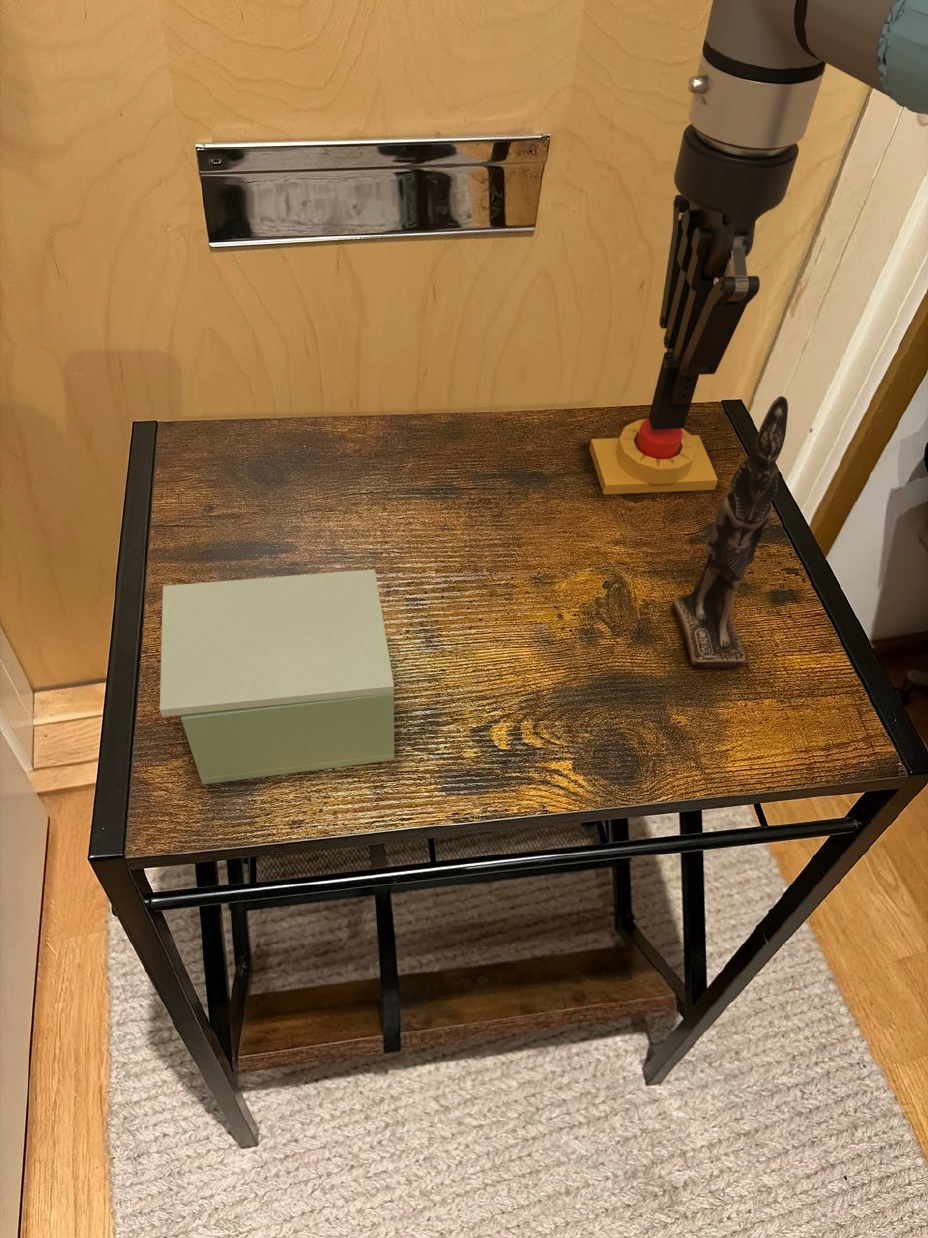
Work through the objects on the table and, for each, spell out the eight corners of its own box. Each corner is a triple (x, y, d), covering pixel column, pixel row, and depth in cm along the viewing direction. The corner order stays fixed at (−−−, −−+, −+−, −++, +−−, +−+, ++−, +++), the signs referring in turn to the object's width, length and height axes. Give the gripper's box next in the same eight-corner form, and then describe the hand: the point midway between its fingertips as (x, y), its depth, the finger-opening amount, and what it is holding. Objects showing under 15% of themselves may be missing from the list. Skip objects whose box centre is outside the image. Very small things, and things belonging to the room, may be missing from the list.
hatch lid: (161, 717, 55) (159, 709, 54) (164, 593, 61) (162, 585, 60) (393, 693, 57) (394, 685, 57) (375, 576, 63) (375, 568, 62)
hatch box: (202, 785, 61) (180, 719, 55) (201, 667, 67) (181, 596, 61) (394, 760, 63) (394, 693, 57) (377, 648, 69) (375, 577, 63)
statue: (689, 675, 69) (773, 468, 54) (665, 602, 74) (736, 391, 58) (744, 672, 70) (842, 466, 54) (717, 599, 74) (801, 390, 59)
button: (672, 431, 83) (676, 415, 81) (682, 459, 80) (687, 443, 79) (632, 433, 82) (636, 417, 81) (642, 460, 80) (646, 444, 79)
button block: (695, 443, 86) (703, 416, 84) (715, 492, 82) (724, 465, 80) (588, 447, 85) (593, 420, 83) (603, 497, 81) (609, 470, 78)
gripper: (661, 90, 65) (605, 378, 83) (716, 179, 57) (641, 477, 75) (766, 90, 66) (688, 375, 84) (835, 178, 57) (732, 473, 75)
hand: (666, 423), depth 79 cm, fingers closed
